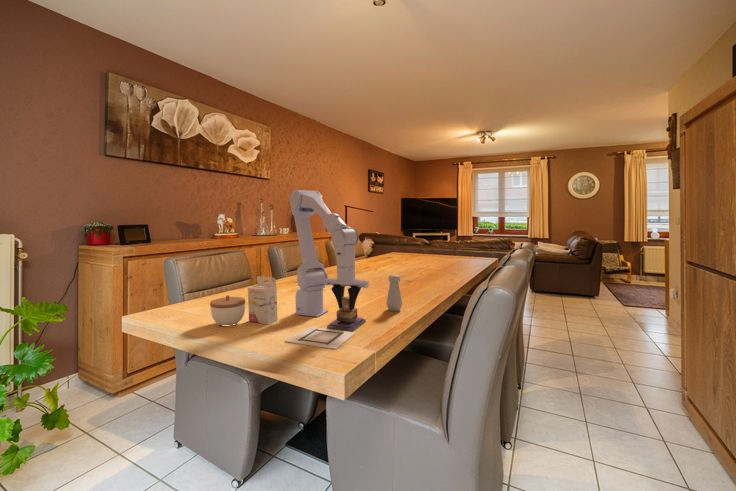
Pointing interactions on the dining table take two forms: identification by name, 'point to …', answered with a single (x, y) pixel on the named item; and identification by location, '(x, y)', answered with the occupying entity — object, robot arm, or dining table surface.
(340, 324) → the ink pad
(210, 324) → the dining table surface
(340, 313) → the stamp
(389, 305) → the salt shaker
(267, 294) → the ink cartridge box
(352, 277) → the robot arm
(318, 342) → the marked sheet
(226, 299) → the lidded jar
